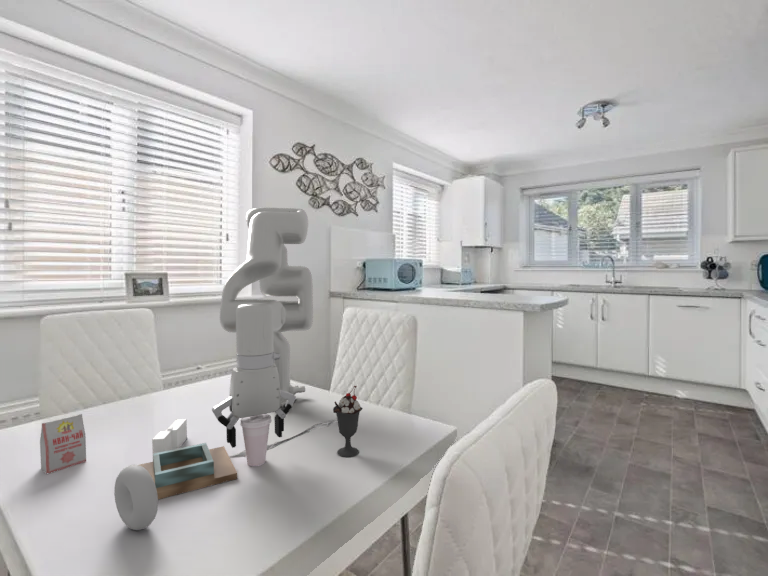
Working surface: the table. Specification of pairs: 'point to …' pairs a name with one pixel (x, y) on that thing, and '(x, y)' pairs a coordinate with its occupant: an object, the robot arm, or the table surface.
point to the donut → (136, 497)
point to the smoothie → (256, 438)
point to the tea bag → (62, 443)
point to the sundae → (347, 422)
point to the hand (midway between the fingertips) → (256, 440)
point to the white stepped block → (170, 437)
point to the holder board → (189, 469)
